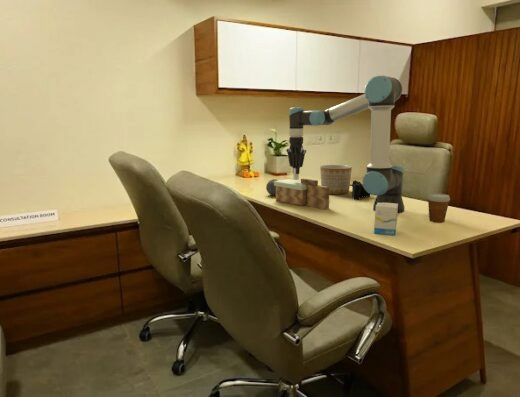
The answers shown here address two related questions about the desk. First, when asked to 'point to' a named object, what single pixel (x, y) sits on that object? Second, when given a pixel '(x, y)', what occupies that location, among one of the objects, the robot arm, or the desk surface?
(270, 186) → the decorative ball
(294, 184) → the lid
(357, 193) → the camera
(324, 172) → the planter
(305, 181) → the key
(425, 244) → the desk surface
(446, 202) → the disposable coffee cup
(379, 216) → the ink box
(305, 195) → the brown zigzag organizer box
